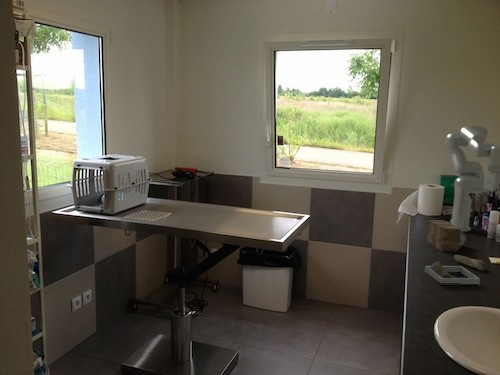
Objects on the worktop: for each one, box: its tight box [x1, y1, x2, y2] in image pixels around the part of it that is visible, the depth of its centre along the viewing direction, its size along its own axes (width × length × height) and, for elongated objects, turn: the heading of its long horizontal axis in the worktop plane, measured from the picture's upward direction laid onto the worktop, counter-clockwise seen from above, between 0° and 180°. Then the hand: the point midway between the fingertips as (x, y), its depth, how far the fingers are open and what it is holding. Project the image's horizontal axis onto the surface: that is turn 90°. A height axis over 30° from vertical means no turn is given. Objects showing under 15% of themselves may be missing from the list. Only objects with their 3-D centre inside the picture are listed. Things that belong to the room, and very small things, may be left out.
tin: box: [459, 231, 468, 247], centre depth 240 cm, size 15×3×8 cm, turn 90°
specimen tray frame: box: [424, 265, 481, 285], centre depth 195 cm, size 15×17×3 cm
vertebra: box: [431, 260, 458, 278], centre depth 195 cm, size 12×8×10 cm
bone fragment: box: [453, 254, 487, 271], centre depth 212 cm, size 14×6×5 cm, turn 34°
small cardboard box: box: [425, 219, 463, 252], centre depth 240 cm, size 17×13×12 cm
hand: (490, 203), depth 243 cm, fingers closed
